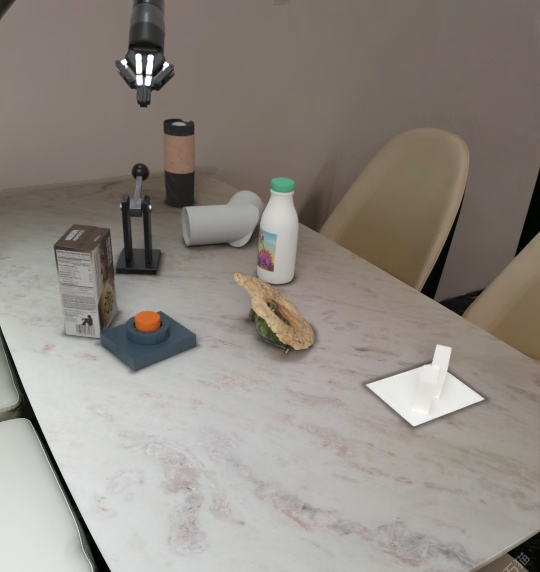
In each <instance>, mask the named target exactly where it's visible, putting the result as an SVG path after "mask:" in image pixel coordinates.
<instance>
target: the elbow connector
mask: <svg viewBox="0 0 540 572" xmlns="http://www.w3.org/2000/svg"><path fill="white" fill-rule="evenodd" d="M264 210H265V208H264V203H263V201H262V199H261V197H260V196H258V194H256V193H255V192H253V191H251V190H240V191H238V192H236V193H235V194H233V196H232V197H231V198H230V199H229V201H228V202H227V204H212V205H209V204H208V205H191V206H188V207H182V210H181V231H182V236H183V241H184V243H185V245H186V246H187V247H189V246H190V247H191V246H202V245H203V246H205V245H215V244H229V246H232V247H233V248H234V247H235V248H240V247H243V246H245V245H246V244H248V243H249V241H250V239H251V237H252V235H253V234H254V232H255V230H256V228H257V226H258V224H259V222H261V217H262V214H263V212H264Z"/></svg>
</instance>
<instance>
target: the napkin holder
mask: <svg viewBox="0 0 540 572" xmlns="http://www.w3.org/2000/svg"><path fill="white" fill-rule="evenodd" d="M452 350H453V348H452V347H451V346H446V345H443V344H442V345H441V344H436V347H435V349H434V352H433V353H434V354H433V356H432V361H431V363H428V364H423V365H422V366H419V367H417V368H413V369H410V370H407V371H404V372H401V373H398V374H395V375H391V376H388V377H385V378H382V379H378V380H376V381H373V382H370V383H367V384H365V386H366V387H367V388H368V389H370V390H371V391H372V392H373V393H374V394H375V395H376V396H378V398H380V399H381V400H382V401H383V402H384V403H386V404H387V405H388V406H389V407H390V408H392V410H394V411H395V412H396V413H397V414H398V415H399V416H401V417H402V418H403V419H404V420H406V421H407V422H408V424H410V425H411V426H412V427H416V426H419V425H421V424H424V423H427V422H430V421H432V420H434V419H437V418H439V417H443V416H446V415H448V414H450V413H453V412H456V411H458V410H461V409H463V408H466V407H468V406H471V405H473V404H477V403H479V402H481V401H484V400H485V398H484V397H483V396H481V395H480V394H479V393H477V392H476V391H475V390H473V389H471V388H470V387H469V386H468V385H466V384H465V383H464V382H462V381H461V380H459V379H458V378H457V377H456V376H454V375H453V374H451V373H450V372H448V369H449V364H450V359H451V354H452Z"/></svg>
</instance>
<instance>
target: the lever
mask: <svg viewBox="0 0 540 572" xmlns="http://www.w3.org/2000/svg"><path fill="white" fill-rule="evenodd" d="M131 176H132V177H133V179H134V180H135V187H134V193H133V194H134V195H133V197H129V198H130V206H129V210H130V216H131V218H143V207H142V202H143V198H142V197H141V196H142V189H143V181H144V182H145V181H146V180H147V179H148V178H149V176H150V169H149V167H148V165H147V164H145V163H143V162H137V163H135V164H133V165H132V167H131Z"/></svg>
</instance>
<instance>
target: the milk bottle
mask: <svg viewBox="0 0 540 572" xmlns="http://www.w3.org/2000/svg"><path fill="white" fill-rule="evenodd" d="M269 188H270V197H269V200H268V202H267V204H266V206H265V208H264V210H263V214H262V217H261V219H260V221H259V222H260V223H259V232H258V245H257V259H256V260H257V261H256V276H257V278H260V279H261V280H263V281H265V282H266V283H268V284H270V285H271V284H272V285H283V284H288V283H290V282H291V281H292V280H293V278H294V276H295V269H296V258H297V249H298V240H299V239H298V238H299V216H298V213H297V210H296V206H295V204H294V197H293V196H294V194H295V189H296V181H295V180H294V179H292V178H289V177H281V176H280V177H279V176H278V177H273V178H272V179H271V180H270V187H269Z"/></svg>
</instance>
